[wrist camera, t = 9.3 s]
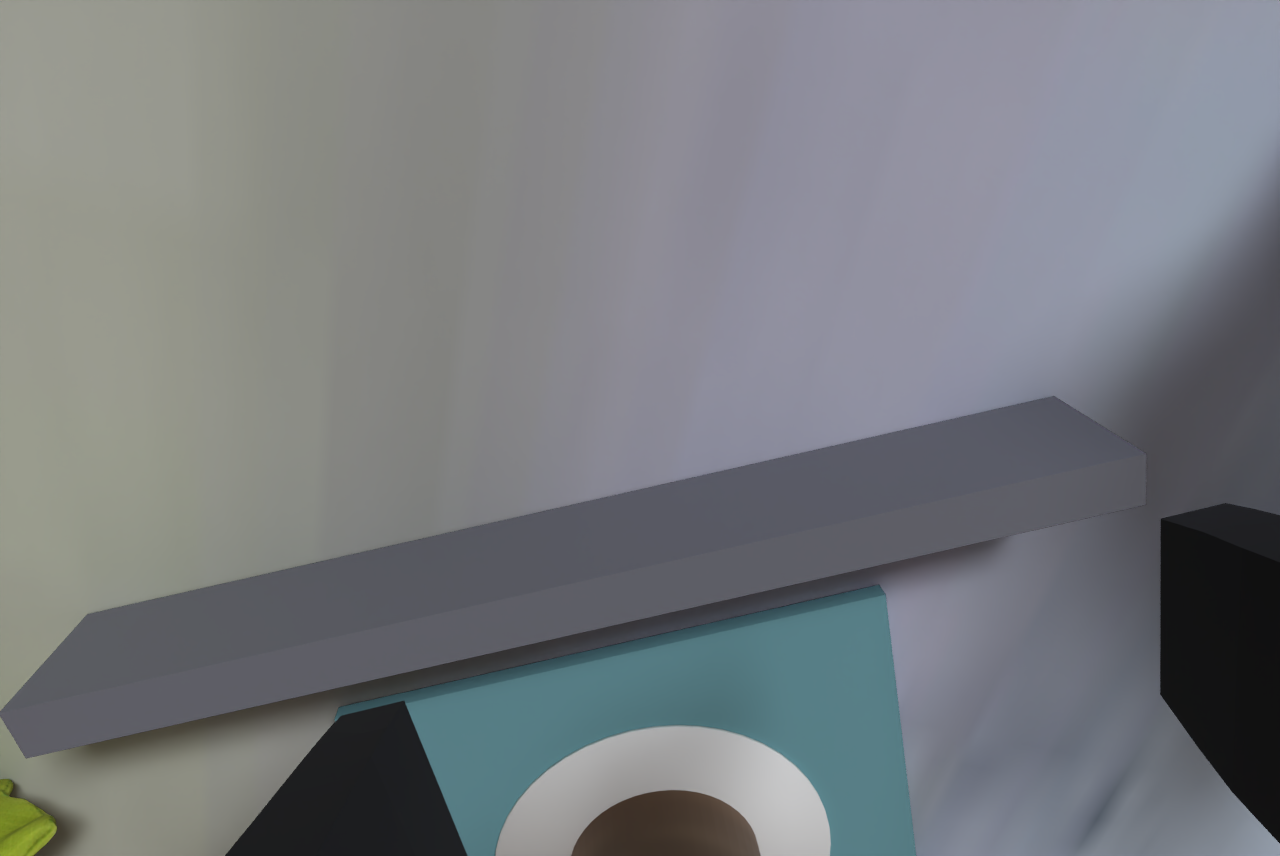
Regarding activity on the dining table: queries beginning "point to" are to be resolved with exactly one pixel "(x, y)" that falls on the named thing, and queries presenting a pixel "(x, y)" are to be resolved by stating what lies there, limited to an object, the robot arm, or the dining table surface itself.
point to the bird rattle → (22, 824)
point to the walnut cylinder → (668, 828)
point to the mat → (684, 734)
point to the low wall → (574, 571)
